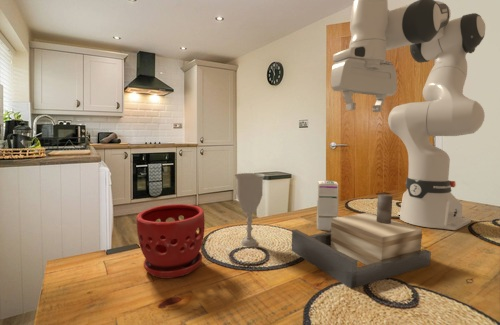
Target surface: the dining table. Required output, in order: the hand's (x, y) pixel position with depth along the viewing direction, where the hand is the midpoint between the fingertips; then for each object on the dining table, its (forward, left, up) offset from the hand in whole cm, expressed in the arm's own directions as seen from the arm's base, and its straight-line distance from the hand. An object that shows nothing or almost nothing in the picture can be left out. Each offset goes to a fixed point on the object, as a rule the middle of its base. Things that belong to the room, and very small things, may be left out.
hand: (364, 111), depth 74 cm
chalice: (+30, -6, -34) cm, 46 cm away
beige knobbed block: (+7, +11, -33) cm, 35 cm away
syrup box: (+4, -8, -34) cm, 35 cm away
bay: (+12, +11, -34) cm, 38 cm away
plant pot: (+49, -3, -34) cm, 60 cm away
